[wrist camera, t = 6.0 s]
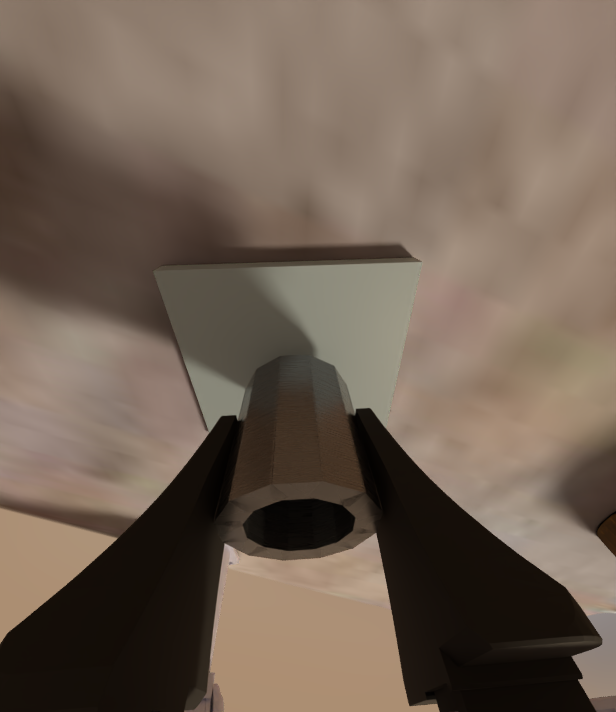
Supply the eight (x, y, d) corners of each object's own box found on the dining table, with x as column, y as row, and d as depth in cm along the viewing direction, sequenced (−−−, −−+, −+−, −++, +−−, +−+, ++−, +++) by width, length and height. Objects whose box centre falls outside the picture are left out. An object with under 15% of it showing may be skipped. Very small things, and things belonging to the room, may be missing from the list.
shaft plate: (218, 435, 18) (201, 490, 15) (162, 265, 12) (109, 293, 8) (379, 426, 18) (399, 477, 15) (413, 257, 12) (460, 280, 9)
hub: (253, 431, 14) (232, 564, 9) (239, 357, 11) (196, 488, 6) (342, 427, 14) (369, 554, 9) (349, 352, 11) (394, 477, 6)
